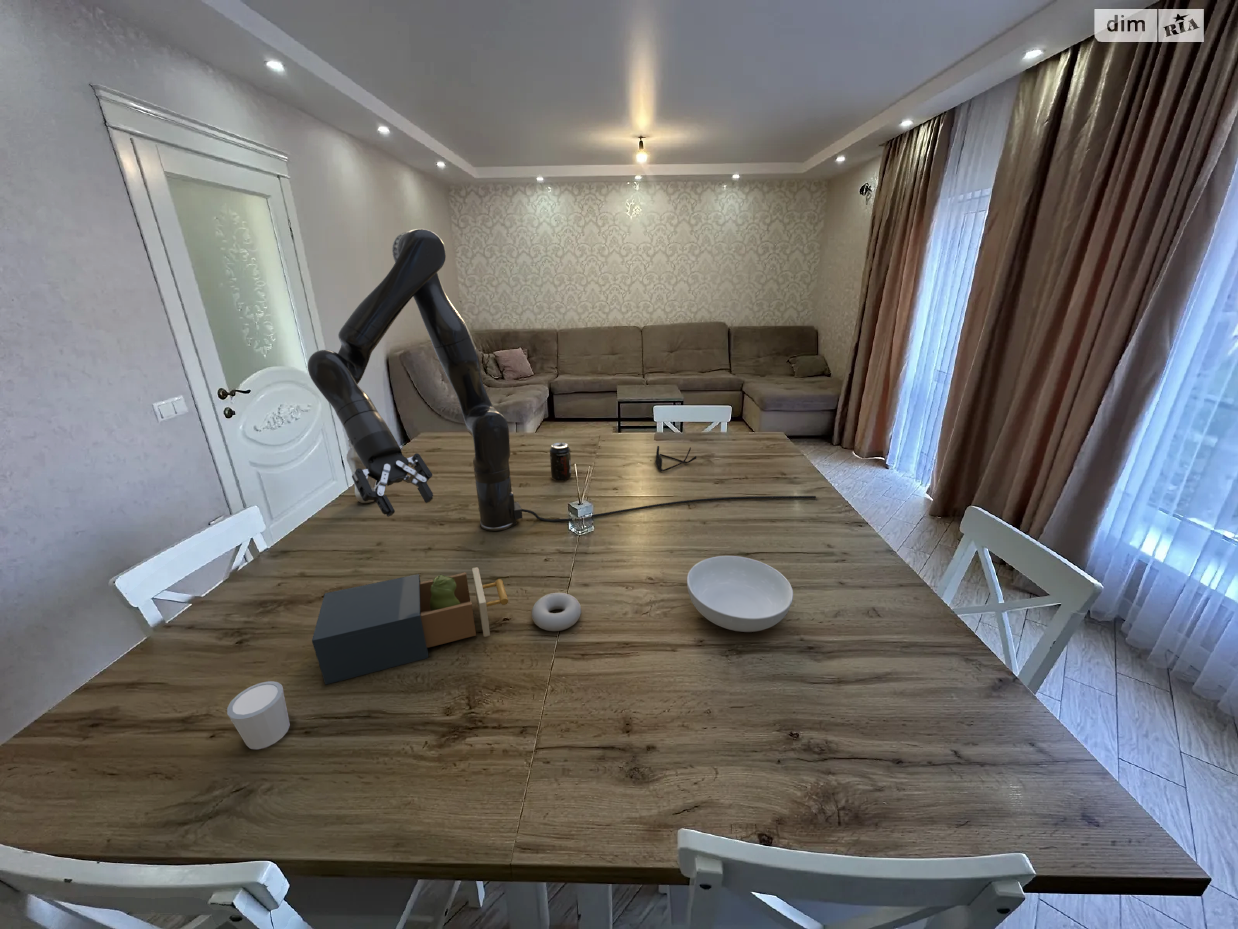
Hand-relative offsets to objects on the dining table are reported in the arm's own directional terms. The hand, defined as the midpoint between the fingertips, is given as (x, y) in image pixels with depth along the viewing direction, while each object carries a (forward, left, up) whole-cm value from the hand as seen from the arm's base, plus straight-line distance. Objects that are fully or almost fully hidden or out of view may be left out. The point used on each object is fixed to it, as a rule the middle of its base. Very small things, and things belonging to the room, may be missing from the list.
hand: (411, 507), depth 96 cm
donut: (-24, +16, -22) cm, 37 cm away
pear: (-4, +11, -20) cm, 24 cm away
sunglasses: (-86, -50, -22) cm, 102 cm away
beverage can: (-44, -53, -22) cm, 72 cm away
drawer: (-5, +11, -21) cm, 25 cm away
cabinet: (+9, +11, -22) cm, 26 cm away
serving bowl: (-59, +28, -22) cm, 69 cm away
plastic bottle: (+16, -59, -22) cm, 65 cm away
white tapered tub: (+24, +25, -22) cm, 41 cm away
